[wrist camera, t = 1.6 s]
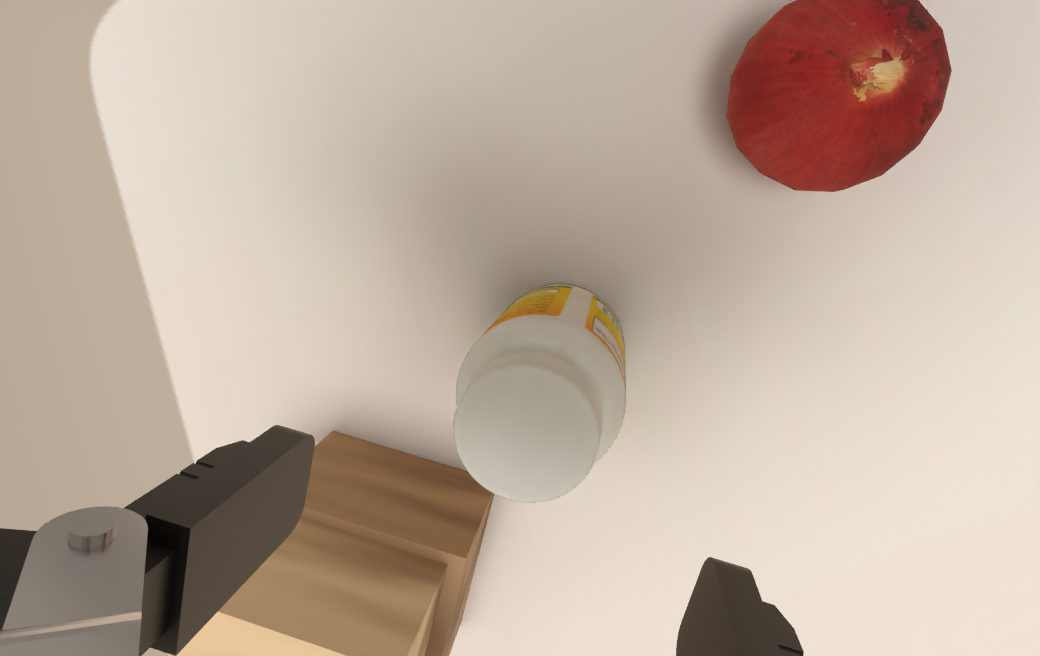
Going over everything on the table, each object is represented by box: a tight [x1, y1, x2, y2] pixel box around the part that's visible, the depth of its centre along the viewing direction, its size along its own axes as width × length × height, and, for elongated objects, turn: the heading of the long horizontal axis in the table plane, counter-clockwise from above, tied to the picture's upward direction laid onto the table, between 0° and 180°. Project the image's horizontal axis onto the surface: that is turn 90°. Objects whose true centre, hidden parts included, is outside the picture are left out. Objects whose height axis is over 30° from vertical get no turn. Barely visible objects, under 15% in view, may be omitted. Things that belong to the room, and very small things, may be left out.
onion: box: [727, 0, 952, 192], centre depth 18 cm, size 6×6×8 cm
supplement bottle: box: [453, 284, 626, 503], centre depth 21 cm, size 5×5×10 cm
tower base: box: [300, 431, 494, 656], centre depth 26 cm, size 8×8×6 cm
